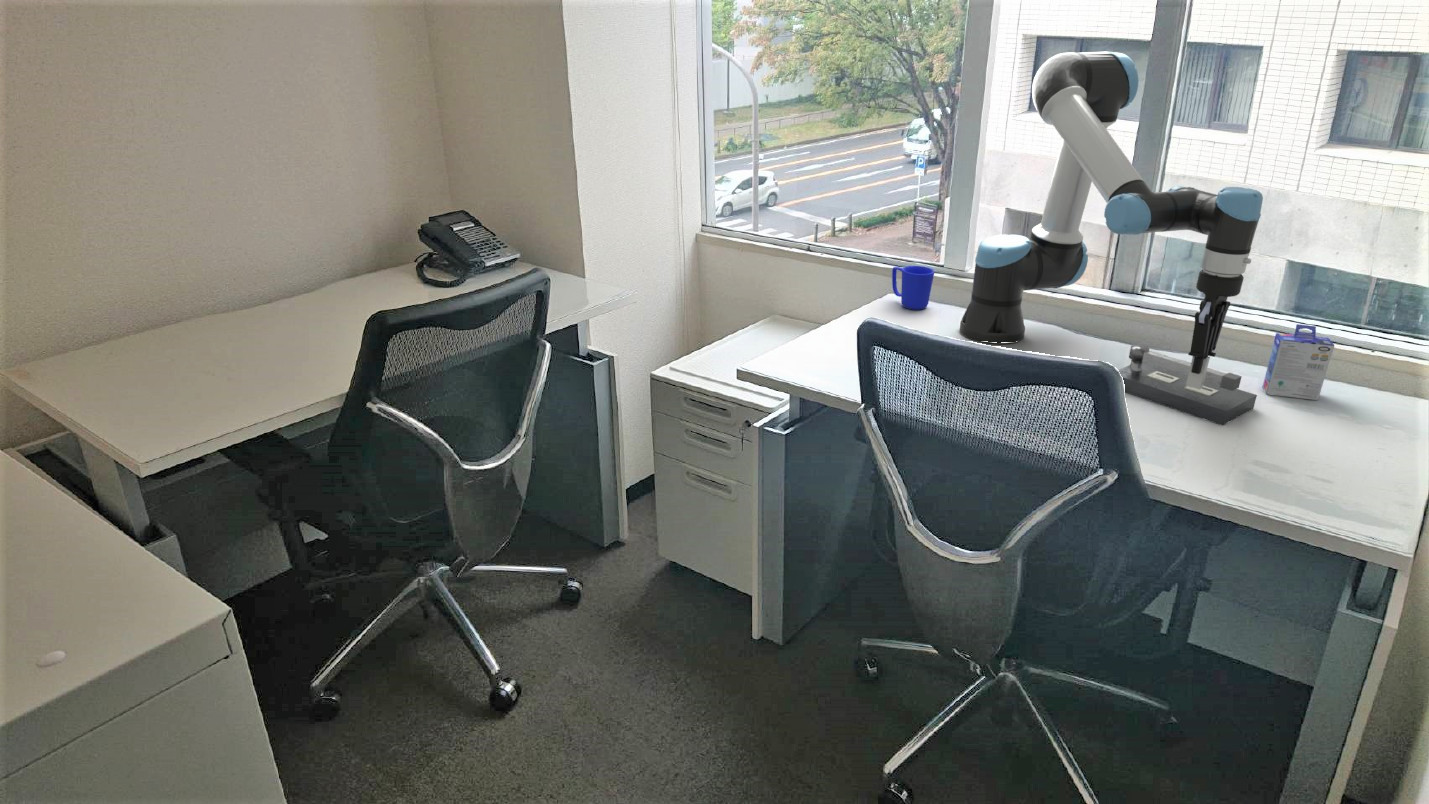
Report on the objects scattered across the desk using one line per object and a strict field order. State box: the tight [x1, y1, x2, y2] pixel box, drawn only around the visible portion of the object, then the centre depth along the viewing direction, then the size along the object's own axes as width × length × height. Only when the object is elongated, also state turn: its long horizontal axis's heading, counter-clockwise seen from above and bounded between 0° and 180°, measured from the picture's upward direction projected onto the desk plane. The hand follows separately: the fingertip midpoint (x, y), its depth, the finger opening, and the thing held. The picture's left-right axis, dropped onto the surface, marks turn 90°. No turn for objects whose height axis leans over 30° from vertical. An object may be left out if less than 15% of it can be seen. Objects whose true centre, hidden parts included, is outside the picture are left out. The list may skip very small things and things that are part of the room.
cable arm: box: [1128, 344, 1243, 391], centre depth 188 cm, size 22×4×3 cm, turn 38°
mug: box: [891, 265, 935, 311], centre depth 242 cm, size 8×12×10 cm
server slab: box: [1118, 359, 1258, 426], centre depth 189 cm, size 24×13×5 cm, turn 38°
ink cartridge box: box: [1262, 323, 1335, 401], centre depth 190 cm, size 10×6×14 cm, turn 72°
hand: (1194, 386), depth 184 cm, fingers closed
